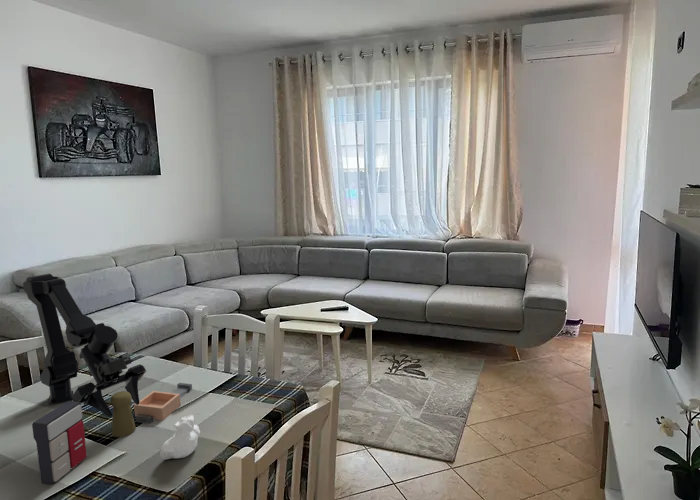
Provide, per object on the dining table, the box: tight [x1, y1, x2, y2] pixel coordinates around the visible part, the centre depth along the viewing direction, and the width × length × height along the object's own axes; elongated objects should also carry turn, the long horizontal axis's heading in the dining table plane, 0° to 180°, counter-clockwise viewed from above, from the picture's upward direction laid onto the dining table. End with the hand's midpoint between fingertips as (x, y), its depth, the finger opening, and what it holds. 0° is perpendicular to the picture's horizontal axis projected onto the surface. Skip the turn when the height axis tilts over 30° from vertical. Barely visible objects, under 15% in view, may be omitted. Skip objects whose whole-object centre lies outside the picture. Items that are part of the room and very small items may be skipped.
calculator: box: [31, 400, 88, 485], centre depth 115 cm, size 11×4×15 cm, turn 168°
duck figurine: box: [159, 414, 201, 461], centre depth 122 cm, size 12×8×11 cm
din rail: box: [135, 382, 193, 425], centre depth 148 cm, size 4×22×2 cm, turn 167°
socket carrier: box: [133, 390, 181, 421], centre depth 144 cm, size 9×9×4 cm
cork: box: [110, 390, 137, 438], centre depth 133 cm, size 6×6×11 cm
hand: (124, 409), depth 132 cm, fingers open, 8 cm apart
